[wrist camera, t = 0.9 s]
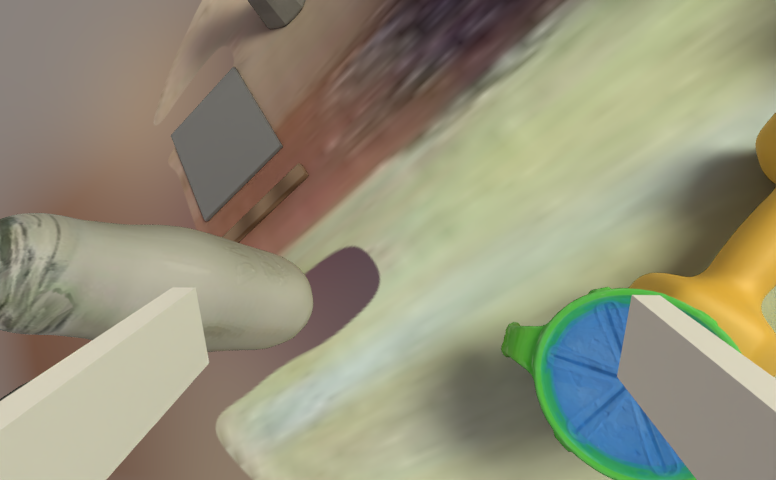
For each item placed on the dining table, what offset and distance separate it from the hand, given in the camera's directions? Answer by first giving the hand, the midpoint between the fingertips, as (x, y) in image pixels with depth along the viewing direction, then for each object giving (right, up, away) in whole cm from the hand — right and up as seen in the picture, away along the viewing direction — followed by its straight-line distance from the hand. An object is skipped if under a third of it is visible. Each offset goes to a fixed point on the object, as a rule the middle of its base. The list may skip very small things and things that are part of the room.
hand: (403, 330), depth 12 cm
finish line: (-19, +5, +40) cm, 44 cm away
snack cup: (+17, -8, +18) cm, 26 cm away
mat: (-26, +18, +47) cm, 57 cm away
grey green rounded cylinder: (-11, -5, +34) cm, 36 cm away
